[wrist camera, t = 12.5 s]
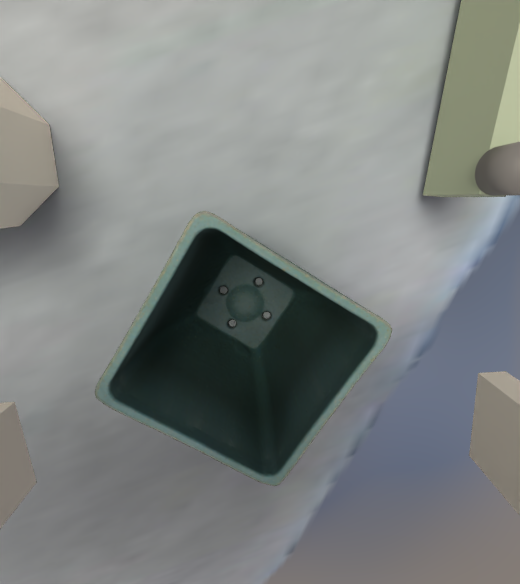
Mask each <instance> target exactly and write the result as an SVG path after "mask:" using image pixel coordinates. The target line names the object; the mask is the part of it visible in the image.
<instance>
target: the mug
mask: <svg viewBox="0 0 520 584" xmlns="http://www.w3.org/2000/svg"><path fill="white" fill-rule="evenodd" d="M58 187H59V183H58V177H57V170H56V164H55V157H54V151H53V144H52V138H51V132H50V125H49V124H48V123H47V122H46V121H45V120H44V119H43V118H42V117H41V116H40V115H39V114H38V113H37V112H36V111H35V110H34V109H33V108H32V107H31V106H30V105H29V104H28V103H27V102H26V101H25V100H24V99H23V98H22V97H21V96H20V95H19V94H18V93H17V92H16V91H15V90H13V89H12V88H11V87H10V86H9V85H8V84H7V83H6V82H5V81H4V80H3V79H2V78H1V77H0V228H9V227H17V226H21V225H22V224H23V223H24V222H25V221H26V220H27V219H28V218H29V217H30V216H31V215H32V214H33V213H34V212H35V211H36V210H37V209H38V208H39V206H40V205H41V204H42V203H43V202H44V201H45V200H46V199H47V198H48V197H49V196H50V195H51V194H52V193H53V192H54V191H55V190H56V189H57V188H58Z"/></svg>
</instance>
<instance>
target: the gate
mask: <svg viewBox="0 0 520 584" xmlns="http://www.w3.org/2000/svg"><path fill="white" fill-rule="evenodd" d="M506 195H520V0H461V4H460V9H459V14H458V20H457V25H456V30H455V35H454V40H453V45H452V50H451V55H450V60H449V65H448V70H447V75H446V80H445V85H444V90H443V95H442V101H441V106H440V111H439V116H438V121H437V126H436V131H435V136H434V141H433V146H432V151H431V156H430V161H429V166H428V171H427V176H426V181H425V187H424V192H423V196H435V197H506Z"/></svg>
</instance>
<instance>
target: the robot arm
mask: <svg viewBox="0 0 520 584" xmlns="http://www.w3.org/2000/svg"><path fill="white" fill-rule="evenodd" d="M469 456H470V457H471V458H472V460H473V461H474V462H475V463H476V464H477V466H478V467H479V468H480V469H481V470H482V471H483V473H484V474H485V475H486V476H487V477H488V479H489V480H490V481H491V482H492V483H493V484H494V486H495V487H496V488H497V489H498V491H499V492H500V493H501V494H502V495H503V496H504V498H505V499H506V500H507V501H508V502H509V504H510V505H511V506H512V507H513V508H514V510H515V511H516V512H517V513H518V514H519V515H520V381H519V380H517V379H516V378H514V377H513V376H511V375H510V374H508V373H507V372H506V371H504V372H488V373H478V381H477V389H476V398H475V408H474V416H473V425H472V434H471V443H470V453H469ZM36 483H37V481H36V478H35V474H34V471H33V467H32V463H31V460H30V456H29V452H28V449H27V445H26V442H25V438H24V434H23V431H22V427H21V423H20V420H19V416H18V413H17V409H16V405H15V402H6V403H0V529H1V527H2V526H3V525H4V524H5V522H6V521H7V520H8V518H9V517H10V516H11V515H12V513H13V512H14V511H15V509H16V508H17V507H18V506H19V504H20V503H21V502H22V501H23V499H24V498H25V497H26V495H27V494H28V493H29V492H30V490H31V489H32V488H33V486H34V485H35V484H36Z"/></svg>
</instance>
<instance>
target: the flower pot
mask: <svg viewBox="0 0 520 584" xmlns="http://www.w3.org/2000/svg"><path fill="white" fill-rule="evenodd" d="M256 278H261V279H262V280H263V283H262V285H259V286H258V285H256V284H255V279H256ZM222 286H225V287H227V289H228V291H227V293H225V294H222V293H221V292H220V287H222ZM264 312H269V313H270V314H271V316H270V318H269V319H264V318H263V313H264ZM232 319H233V320H235V321H236V326H234V327H230V326H229V325H228V321H229V320H232ZM391 333H392V328H391V326H390V324H388V323H387V322H386V321H385V320H383V319H382V318H381V317H379V316H377V315H376V314H374V313H372V312H371V311H369V310H367V309H366V308H364V307H362V306H361V305H359V304H357V303H356V302H354V301H352V300H351V299H349V298H348V297H346V296H344V295H343V294H341V293H340V292H338V291H336V290H335V289H333V288H332V287H330V286H328V285H327V284H325V283H324V282H322V281H320V280H319V279H317V278H316V277H314V276H312V275H311V274H309V273H308V272H306V271H304V270H303V269H301V268H300V267H298V266H296V265H295V264H293V263H292V262H290V261H288V260H287V259H285V258H283V257H282V256H280V255H279V254H277V253H275V252H274V251H272V250H270V249H269V248H267V247H266V246H264V245H262V244H261V243H259V242H257V241H256V240H254V239H253V238H251V237H249V236H248V235H246V234H245V233H243V232H241V231H240V230H238V229H237V228H235V227H234V226H232V225H231V224H229V223H228V222H226V221H224V220H223V219H221V218H220V217H218V216H216V215H215V214H213V213H210V212H206V211H202V212H199V213H197V214H196V215H194V217H193V218H192V219H191V221H190V222H189V223H188V225H187V227H186V228H185V230H184V232H183V234H182V236H181V238H180V240H179V241H178V243H177V245H176V247H175V249H174V251H173V253H172V254H171V256H170V258H169V260H168V261H167V264H166V265H165V267H164V269H163V270H162V272H161V274H160V276H159V278H158V280H157V281H156V283H155V285H154V287H153V288H152V290H151V292H150V294H149V296H148V297H147V300H146V301H145V303H144V305H143V306H142V308H141V309H140V311H139V313H138V315H137V316H136V318H135V320H134V322H133V323H132V325H131V327H130V329H129V331H128V332H127V334H126V336H125V337H124V339H123V341H122V343H121V344H120V346H119V348H118V350H117V351H116V353H115V355H114V357H113V358H112V360H111V362H110V363H109V365H108V367H107V368H106V370H105V372H104V373H103V375H102V377H101V378H100V380H99V382H98V384H97V386H96V389H95V396H96V398H97V399H98V400H100V401H101V402H102V403H103V404H105V405H107V406H108V407H109V408H112V409H113V410H115V411H118V412H119V413H121V414H123V415H125V416H127V417H130V418H132V419H133V420H136V421H138V422H140V423H142V424H144V425H146V426H149V427H151V428H153V429H155V430H158V431H159V432H162V433H164V434H165V435H168V436H170V437H172V438H173V439H175V440H178V441H180V442H182V443H184V444H186V445H188V446H190V447H192V448H194V449H196V450H198V451H200V452H202V453H203V454H205V455H208V456H210V457H212V458H213V459H216V460H217V461H219V462H221V463H223V464H224V465H227V466H229V467H231V468H233V469H234V470H237V471H239V472H241V473H243V474H244V475H246V476H248V477H250V478H252V479H254V480H257V481H258V482H261V483H264V484H268V485H272V486H277V485H279V484H280V483H281V482H282V481H283V480H284V479H285V477H286V476H287V475H288V474H289V473H290V471H291V470H292V468H293V467H294V466H295V465H296V463H297V462H298V460H299V459H300V458H301V456H302V455H303V454H304V452H305V451H306V449H307V448H308V446H309V445H310V444H311V443H312V441H313V439H314V438H315V436H316V435H317V434H318V433H319V431H320V430H321V429H322V427H323V426H324V424H325V423H326V422H327V420H328V419H329V418H330V417H331V415H332V414H333V413H334V412H335V410H336V409H337V408H338V406H339V405H340V404H341V402H342V401H343V400H344V398H345V397H346V396H347V394H348V393H349V392H350V390H351V389H352V388H353V386H354V385H355V384H356V382H357V381H358V380H359V379H360V377H361V376H362V375H363V373H364V372H365V371H366V370H367V368H368V367H369V366H370V365H371V363H372V362H373V361H374V360H375V359H376V357H377V356H378V355H379V354H380V353H381V351H382V350H383V349H384V347H385V346H386V344H387V342H388V341H389V339H390V336H391Z"/></svg>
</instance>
